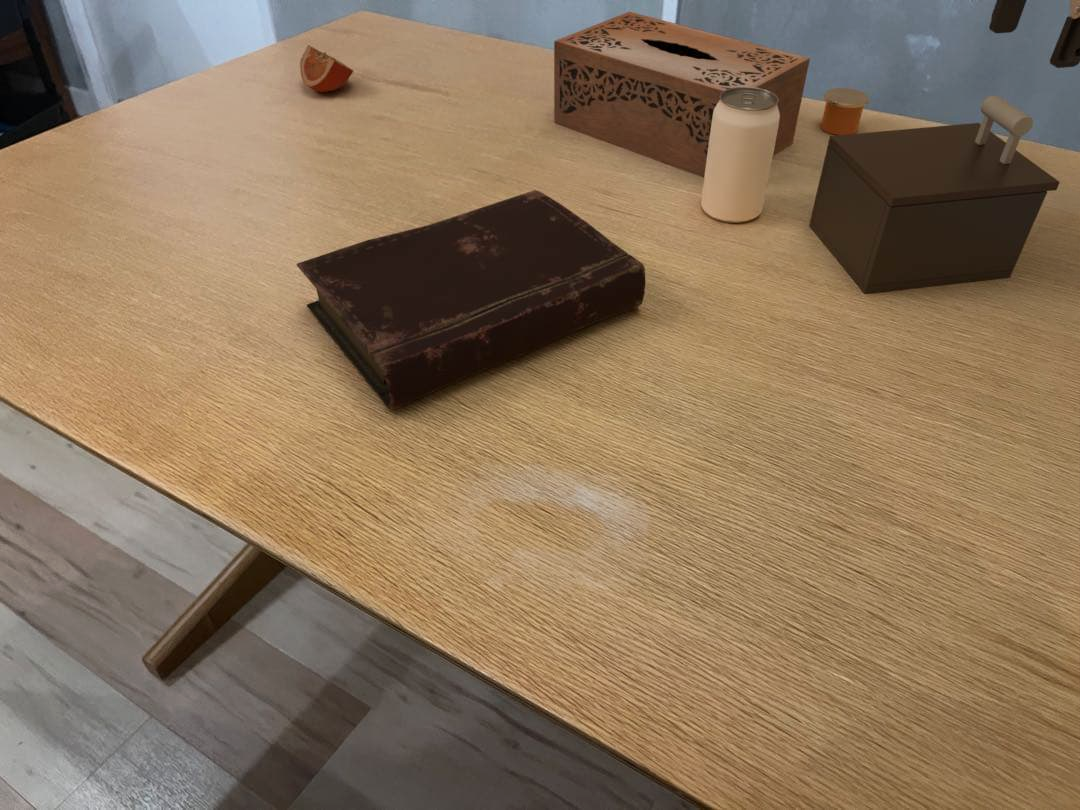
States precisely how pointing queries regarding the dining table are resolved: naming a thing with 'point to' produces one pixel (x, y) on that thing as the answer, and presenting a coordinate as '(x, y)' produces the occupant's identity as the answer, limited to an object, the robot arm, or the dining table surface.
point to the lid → (947, 159)
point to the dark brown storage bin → (917, 233)
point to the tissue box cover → (665, 85)
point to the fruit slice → (322, 71)
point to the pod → (843, 110)
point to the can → (740, 154)
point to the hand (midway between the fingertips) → (1030, 47)
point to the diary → (468, 293)
